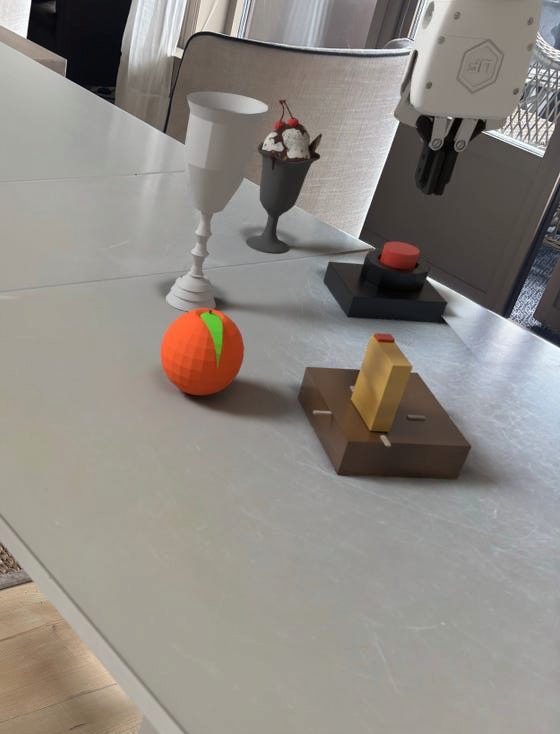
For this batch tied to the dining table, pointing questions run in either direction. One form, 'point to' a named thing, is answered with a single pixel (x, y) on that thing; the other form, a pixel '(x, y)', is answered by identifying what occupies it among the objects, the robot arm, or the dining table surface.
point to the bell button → (400, 255)
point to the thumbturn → (381, 382)
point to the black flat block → (384, 290)
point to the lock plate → (376, 448)
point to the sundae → (282, 176)
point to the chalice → (214, 175)
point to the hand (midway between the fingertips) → (428, 190)
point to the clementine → (202, 351)
